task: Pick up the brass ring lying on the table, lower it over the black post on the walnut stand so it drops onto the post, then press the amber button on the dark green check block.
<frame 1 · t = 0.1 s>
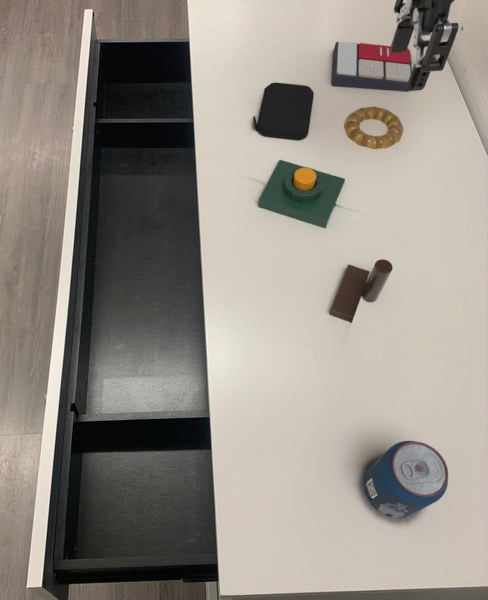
hand: (405, 69, 74), 22 cm above the table, tool pointing down, fingers open, 8 cm apart
soda can: (388, 491, 67), on the table
stand: (366, 301, 81), on the table
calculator: (368, 77, 108), on the table
carrying case: (281, 118, 103), on the table
ring: (373, 128, 98), point 1 cm above the table
button: (304, 179, 88), point 4 cm above the table, slide at 0.1 cm
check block: (300, 197, 92), on the table
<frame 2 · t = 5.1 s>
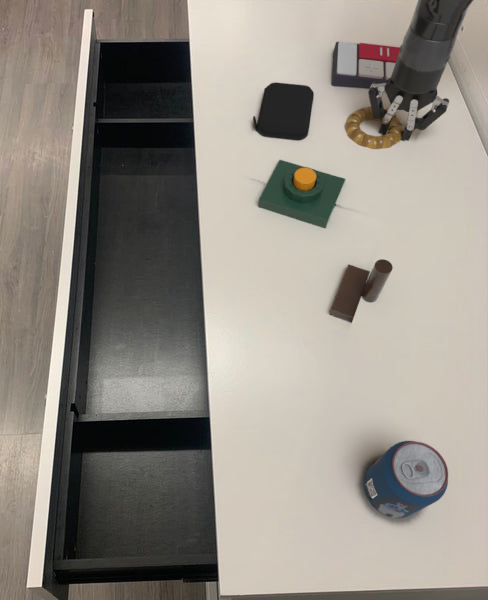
hand: (392, 138, 98), 0 cm above the table, tool pointing down, fingers closed on ring, 3 cm apart
ring: (373, 128, 98), point 1 cm above the table, touching gripper
everything else where it was.
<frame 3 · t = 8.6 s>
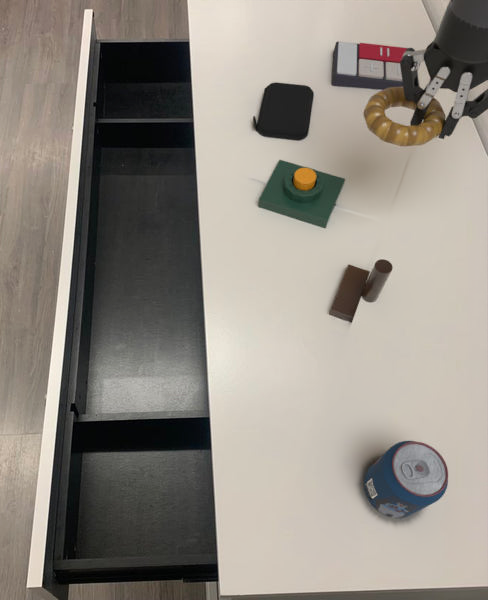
hand: (429, 130, 72), 20 cm above the table, tool pointing down, fingers closed on ring, 3 cm apart
ring: (404, 115, 72), point 21 cm above the table, touching gripper
everything else where it was.
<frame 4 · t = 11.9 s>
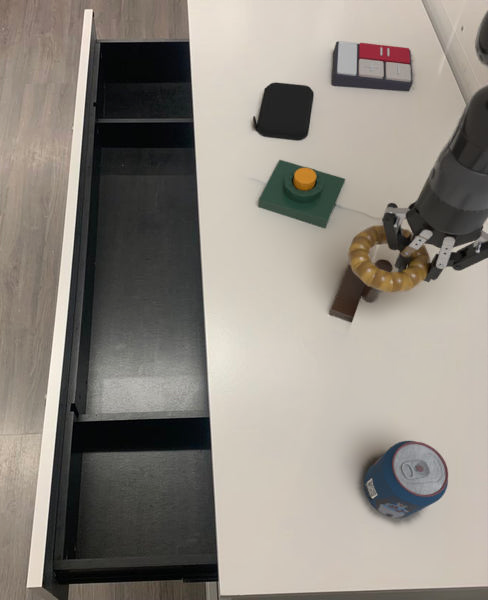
hand: (414, 271, 71), 10 cm above the table, tool pointing down, fingers closed on ring, 3 cm apart
ring: (388, 257, 71), point 12 cm above the table, touching gripper
everything else where it was.
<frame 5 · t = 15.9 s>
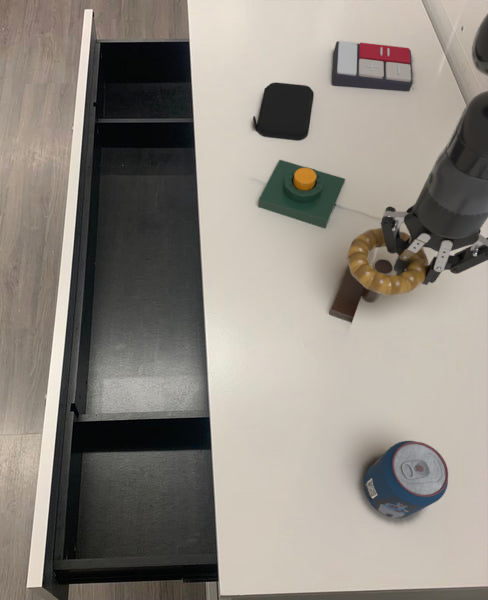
hand: (412, 274, 72), 10 cm above the table, tool pointing down, fingers closed on ring, 2 cm apart
ring: (387, 260, 72), point 11 cm above the table, touching gripper
everything else where it was.
when the fingers open (11 cm above the table, at t = 19.1 s): ring drops 9 cm, resting on stand.
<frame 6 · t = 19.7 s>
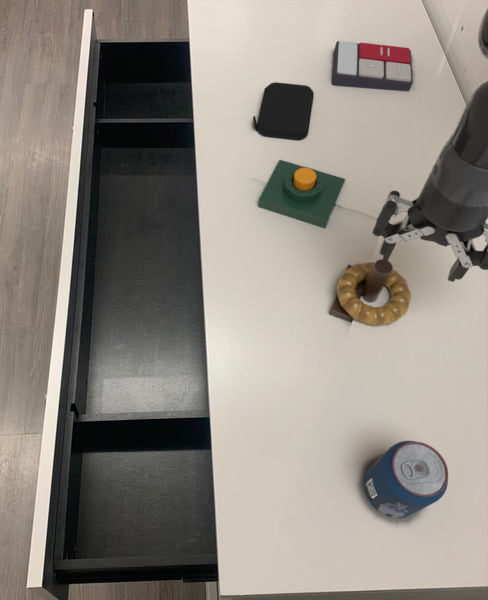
hand: (418, 265, 70), 12 cm above the table, tool pointing down, fingers open, 8 cm apart
ring: (373, 293, 78), point 3 cm above the table, touching stand
everything else where it was.
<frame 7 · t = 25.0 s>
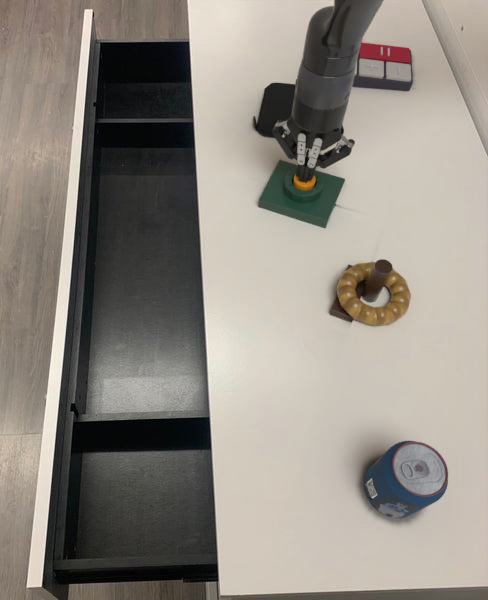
hand: (304, 178, 88), 5 cm above the table, tool pointing down, fingers closed
button: (304, 182, 89), point 4 cm above the table, slide at -0.6 cm, touching gripper
everything else where it was.
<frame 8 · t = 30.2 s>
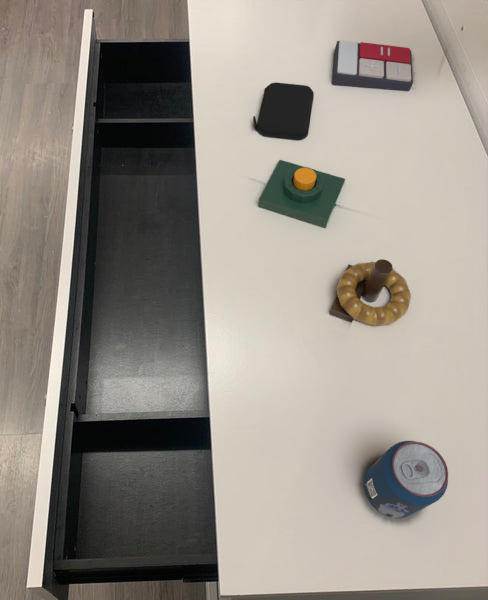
button: (304, 179, 88), point 4 cm above the table, slide at 0.1 cm
everything else where it was.
at the end: ring 0.3 cm off-centre on the stand, point 2.8 cm above the stand's base; button pushed in 1.1 cm at the most during the clip, back to where it started at the end; button slide at 0.1 cm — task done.
